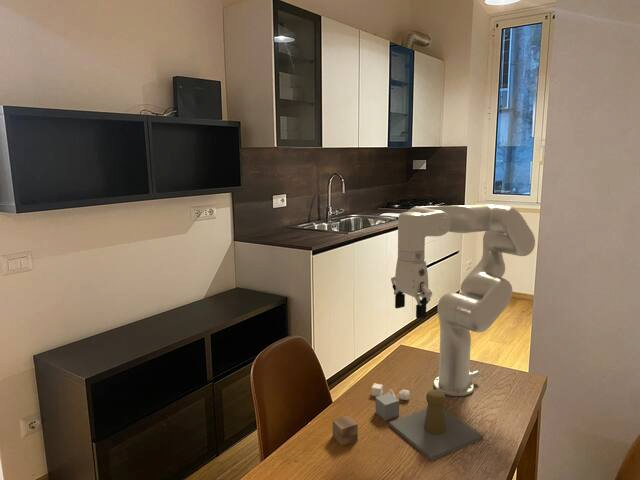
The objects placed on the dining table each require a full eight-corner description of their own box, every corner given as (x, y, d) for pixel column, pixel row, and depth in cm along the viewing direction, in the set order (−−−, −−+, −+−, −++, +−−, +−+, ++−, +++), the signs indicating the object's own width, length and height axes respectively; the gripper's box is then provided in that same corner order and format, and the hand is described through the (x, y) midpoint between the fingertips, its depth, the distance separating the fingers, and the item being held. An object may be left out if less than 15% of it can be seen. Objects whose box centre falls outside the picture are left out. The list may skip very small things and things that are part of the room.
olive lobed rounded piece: (446, 435, 131) (448, 398, 129) (424, 433, 132) (425, 397, 130) (445, 423, 137) (446, 387, 135) (423, 421, 138) (424, 385, 136)
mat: (437, 407, 147) (437, 404, 146) (482, 439, 131) (482, 435, 131) (388, 425, 138) (388, 422, 138) (431, 460, 123) (431, 457, 123)
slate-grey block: (389, 407, 147) (389, 392, 146) (399, 416, 143) (399, 400, 142) (375, 412, 145) (375, 397, 144) (385, 420, 141) (385, 405, 140)
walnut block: (348, 431, 136) (347, 415, 135) (357, 440, 132) (357, 424, 131) (332, 436, 134) (332, 420, 133) (341, 446, 130) (341, 429, 129)
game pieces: (371, 396, 155) (371, 387, 154) (374, 391, 158) (374, 382, 157) (408, 403, 150) (408, 393, 149) (410, 397, 153) (410, 388, 152)
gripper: (442, 259, 132) (440, 319, 136) (402, 248, 147) (402, 301, 151) (420, 263, 129) (419, 324, 132) (382, 251, 144) (382, 306, 147)
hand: (410, 312), depth 142 cm, fingers open, 9 cm apart
